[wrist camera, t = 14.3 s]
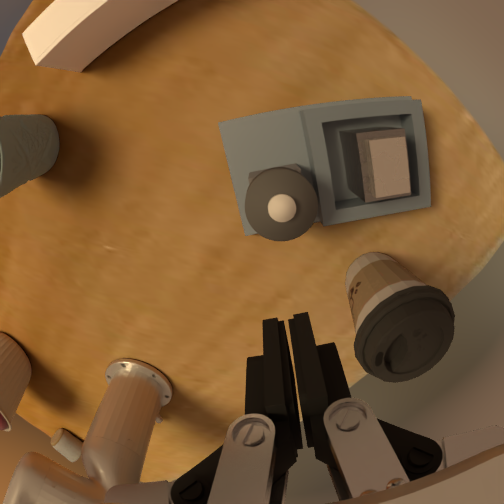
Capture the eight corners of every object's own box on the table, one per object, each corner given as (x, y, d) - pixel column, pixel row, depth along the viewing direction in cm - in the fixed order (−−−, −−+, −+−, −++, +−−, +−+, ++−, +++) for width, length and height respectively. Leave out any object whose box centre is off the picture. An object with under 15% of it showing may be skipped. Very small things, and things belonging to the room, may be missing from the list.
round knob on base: (311, 213, 33) (323, 236, 26) (254, 225, 33) (253, 249, 27) (301, 156, 30) (312, 165, 24) (241, 168, 31) (236, 180, 25)
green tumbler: (64, 105, 29) (1, 109, 18) (65, 181, 33) (6, 207, 22) (14, 116, 29) (-46, 126, 18) (16, 183, 33) (-40, 208, 22)
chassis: (416, 199, 34) (438, 212, 29) (245, 231, 36) (243, 250, 31) (405, 96, 29) (428, 94, 24) (219, 122, 31) (212, 122, 26)
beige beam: (188, -41, 22) (170, -78, 13) (209, -15, 24) (195, -52, 15) (59, 51, 26) (14, 42, 18) (74, 79, 28) (27, 74, 19)
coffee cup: (327, 242, 36) (363, 314, 23) (409, 230, 35) (473, 288, 22) (330, 317, 41) (356, 399, 27) (403, 303, 40) (448, 374, 26)
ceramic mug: (64, 424, 59) (54, 445, 52) (87, 441, 61) (79, 462, 54) (52, 429, 62) (42, 447, 55) (73, 444, 64) (65, 463, 57)
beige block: (380, 126, 29) (410, 129, 22) (387, 182, 32) (416, 198, 25) (338, 131, 29) (360, 133, 23) (347, 188, 32) (369, 206, 25)
